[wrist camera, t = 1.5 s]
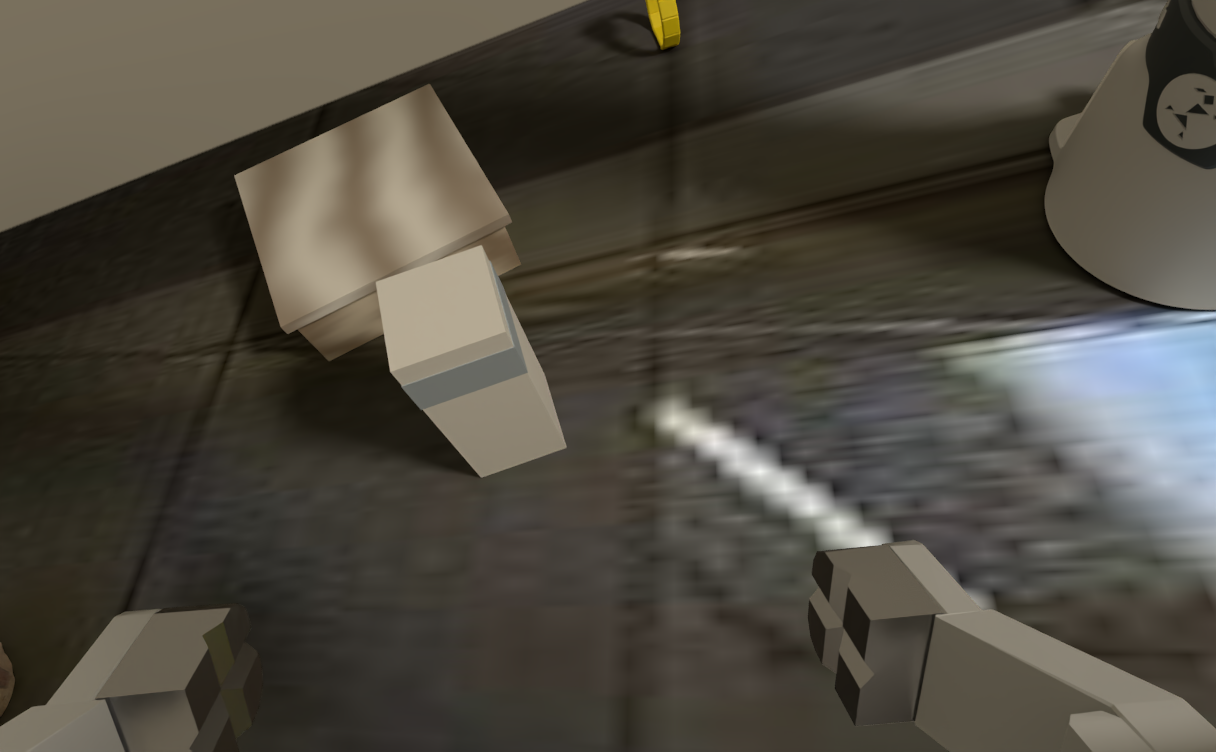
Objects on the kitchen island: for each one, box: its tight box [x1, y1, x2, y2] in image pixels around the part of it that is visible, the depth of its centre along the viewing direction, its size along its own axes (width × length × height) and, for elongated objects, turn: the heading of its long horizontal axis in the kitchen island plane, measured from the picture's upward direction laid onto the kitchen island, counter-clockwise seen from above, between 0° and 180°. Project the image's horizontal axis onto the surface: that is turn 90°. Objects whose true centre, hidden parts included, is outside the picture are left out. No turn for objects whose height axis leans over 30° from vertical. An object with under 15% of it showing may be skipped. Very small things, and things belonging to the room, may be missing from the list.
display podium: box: [234, 84, 521, 361], centre depth 52 cm, size 16×16×5 cm
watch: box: [646, 0, 680, 50], centre depth 58 cm, size 6×3×6 cm, turn 14°
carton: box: [376, 245, 567, 478], centre depth 39 cm, size 6×6×13 cm
